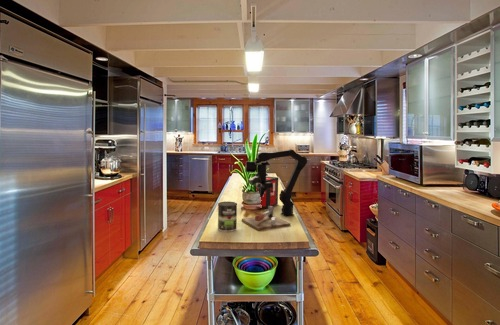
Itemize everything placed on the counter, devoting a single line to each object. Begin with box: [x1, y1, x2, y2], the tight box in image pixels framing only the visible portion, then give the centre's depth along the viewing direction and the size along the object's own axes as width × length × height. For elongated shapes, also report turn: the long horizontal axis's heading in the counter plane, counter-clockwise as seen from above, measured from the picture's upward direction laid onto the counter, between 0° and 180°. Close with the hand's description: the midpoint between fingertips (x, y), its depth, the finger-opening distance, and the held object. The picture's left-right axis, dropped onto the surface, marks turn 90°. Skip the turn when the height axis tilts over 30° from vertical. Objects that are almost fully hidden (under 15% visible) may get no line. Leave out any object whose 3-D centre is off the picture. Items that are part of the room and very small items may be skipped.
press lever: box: [254, 206, 274, 221], centre depth 183 cm, size 20×3×6 cm, turn 152°
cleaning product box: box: [255, 175, 279, 210], centre depth 222 cm, size 16×9×20 cm, turn 148°
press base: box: [241, 214, 292, 232], centre depth 181 cm, size 21×20×2 cm
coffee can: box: [217, 201, 238, 233], centre depth 169 cm, size 10×10×14 cm
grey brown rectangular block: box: [271, 217, 275, 226], centre depth 175 cm, size 6×2×3 cm, turn 172°
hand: (261, 196), depth 196 cm, fingers closed
